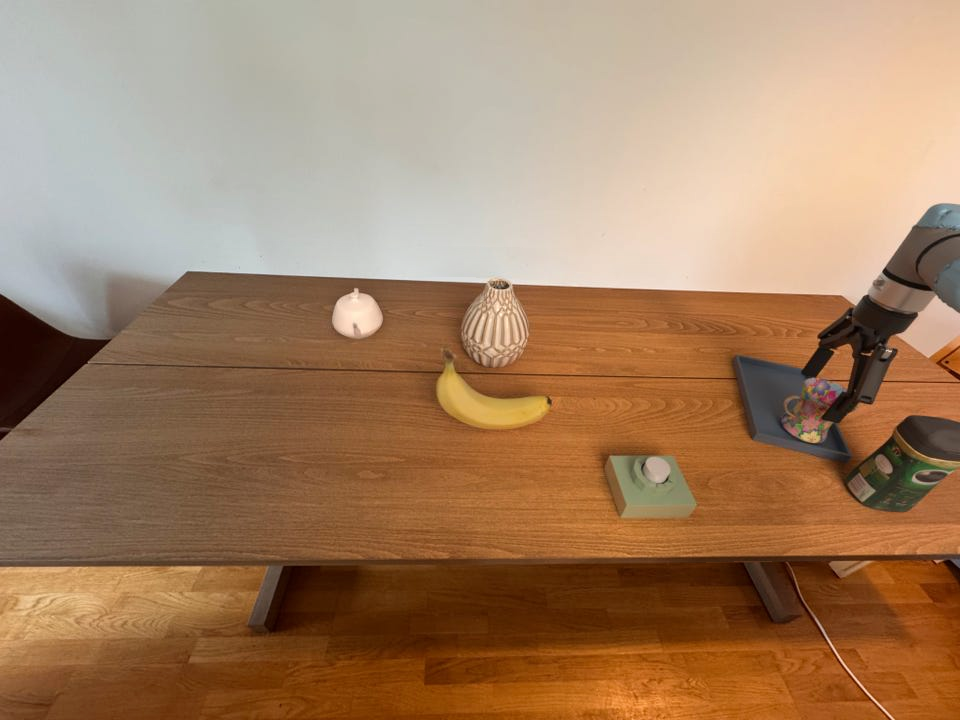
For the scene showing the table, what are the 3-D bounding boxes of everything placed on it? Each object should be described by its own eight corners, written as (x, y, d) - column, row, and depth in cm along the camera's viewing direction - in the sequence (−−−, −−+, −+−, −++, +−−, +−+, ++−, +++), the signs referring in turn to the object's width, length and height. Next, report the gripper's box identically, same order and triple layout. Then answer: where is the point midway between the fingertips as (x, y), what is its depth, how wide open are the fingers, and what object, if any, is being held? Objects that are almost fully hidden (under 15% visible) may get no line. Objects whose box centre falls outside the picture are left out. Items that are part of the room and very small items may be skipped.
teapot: (385, 351, 101) (381, 316, 95) (331, 356, 99) (324, 320, 92) (382, 306, 116) (379, 273, 110) (335, 309, 114) (329, 276, 107)
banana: (543, 412, 89) (561, 336, 76) (549, 433, 84) (569, 356, 71) (436, 415, 86) (435, 337, 73) (436, 437, 82) (435, 358, 69)
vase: (525, 340, 108) (536, 269, 95) (524, 381, 96) (537, 307, 83) (464, 333, 109) (467, 263, 96) (455, 374, 96) (457, 299, 84)
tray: (846, 463, 83) (852, 456, 81) (752, 439, 86) (757, 433, 85) (807, 376, 103) (811, 370, 102) (732, 360, 106) (735, 354, 105)
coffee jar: (886, 479, 80) (962, 412, 68) (915, 517, 74) (1004, 450, 62) (834, 473, 81) (901, 405, 69) (858, 510, 75) (937, 443, 63)
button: (647, 483, 70) (650, 476, 68) (638, 463, 73) (642, 456, 72) (670, 483, 70) (674, 476, 69) (661, 463, 73) (665, 456, 72)
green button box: (620, 518, 71) (630, 498, 67) (603, 468, 78) (612, 448, 75) (688, 517, 72) (702, 498, 68) (665, 468, 79) (677, 448, 75)
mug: (810, 414, 92) (839, 379, 85) (836, 448, 85) (870, 412, 78) (755, 411, 92) (780, 375, 85) (777, 445, 85) (806, 408, 78)
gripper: (839, 266, 79) (781, 354, 92) (900, 339, 60) (816, 437, 74) (885, 274, 78) (819, 362, 91) (962, 351, 59) (865, 448, 72)
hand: (818, 396), depth 82 cm, fingers open, 13 cm apart
